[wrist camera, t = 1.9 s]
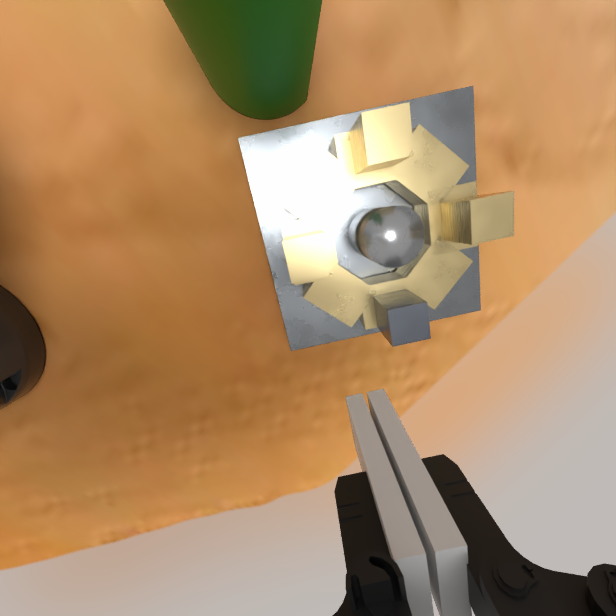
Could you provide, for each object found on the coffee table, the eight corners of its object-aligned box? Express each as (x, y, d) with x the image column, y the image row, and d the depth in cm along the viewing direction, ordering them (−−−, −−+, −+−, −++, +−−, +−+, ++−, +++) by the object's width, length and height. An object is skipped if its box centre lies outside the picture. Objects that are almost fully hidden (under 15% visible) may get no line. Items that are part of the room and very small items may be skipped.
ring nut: (306, 330, 30) (310, 364, 23) (266, 158, 25) (257, 135, 18) (462, 296, 30) (513, 320, 23) (452, 116, 25) (514, 78, 18)
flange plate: (291, 344, 32) (290, 384, 24) (241, 142, 26) (219, 111, 19) (472, 306, 32) (529, 334, 24) (463, 93, 26) (534, 41, 18)
